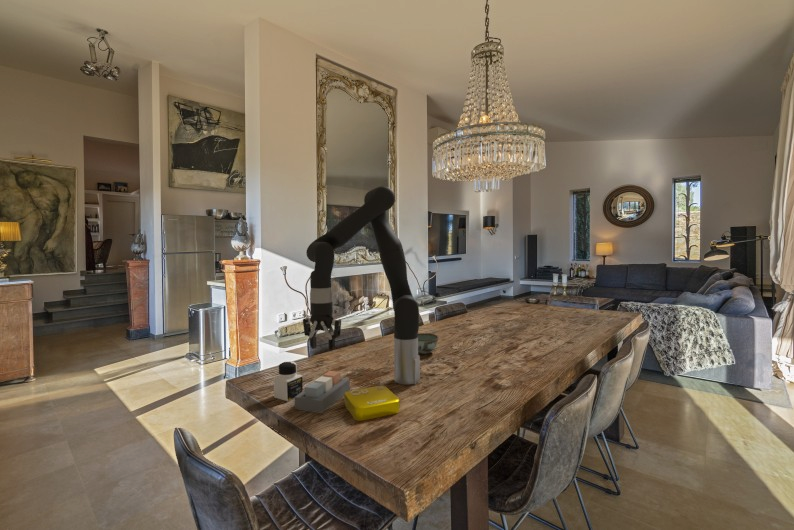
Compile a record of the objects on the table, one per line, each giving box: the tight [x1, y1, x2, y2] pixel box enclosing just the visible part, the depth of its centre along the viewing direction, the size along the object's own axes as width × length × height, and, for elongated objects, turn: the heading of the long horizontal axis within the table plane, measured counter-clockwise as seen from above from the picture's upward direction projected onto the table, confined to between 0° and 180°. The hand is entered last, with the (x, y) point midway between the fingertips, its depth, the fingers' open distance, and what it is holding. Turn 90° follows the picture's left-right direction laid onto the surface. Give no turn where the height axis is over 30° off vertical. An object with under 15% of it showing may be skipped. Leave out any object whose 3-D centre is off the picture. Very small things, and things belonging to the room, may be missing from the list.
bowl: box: [418, 332, 439, 355], centre depth 187 cm, size 14×13×8 cm
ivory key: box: [314, 375, 332, 391], centre depth 133 cm, size 4×4×4 cm
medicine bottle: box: [273, 360, 304, 402], centre depth 136 cm, size 7×7×12 cm
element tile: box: [343, 384, 400, 421], centre depth 126 cm, size 15×15×5 cm
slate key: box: [304, 381, 324, 398], centre depth 128 cm, size 4×4×4 cm
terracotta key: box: [322, 370, 341, 385], centre depth 139 cm, size 4×4×4 cm
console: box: [294, 377, 351, 414], centre depth 134 cm, size 10×20×4 cm, turn 161°
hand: (322, 348), depth 133 cm, fingers open, 6 cm apart
